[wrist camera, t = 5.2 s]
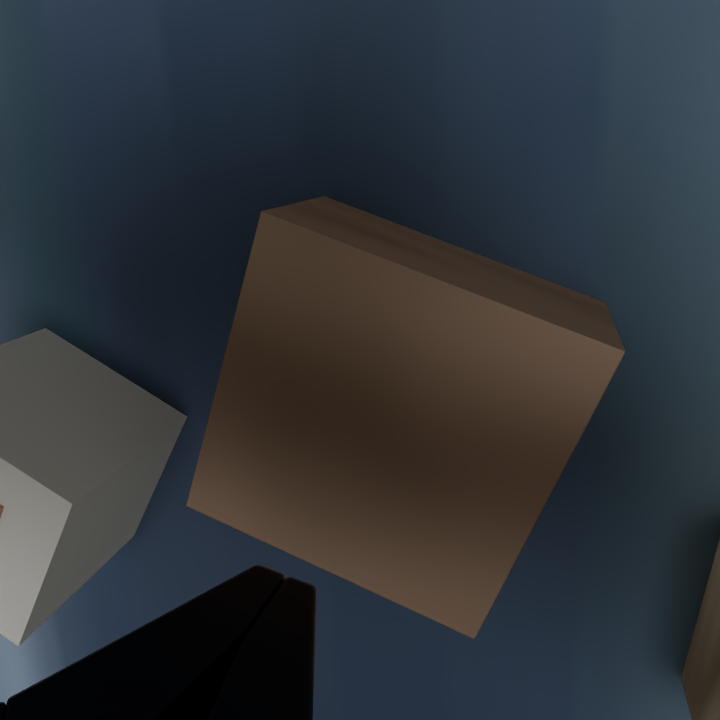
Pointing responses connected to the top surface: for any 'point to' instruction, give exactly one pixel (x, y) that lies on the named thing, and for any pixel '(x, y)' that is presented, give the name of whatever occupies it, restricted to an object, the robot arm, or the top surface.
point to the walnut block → (397, 406)
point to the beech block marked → (705, 653)
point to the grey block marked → (69, 472)
